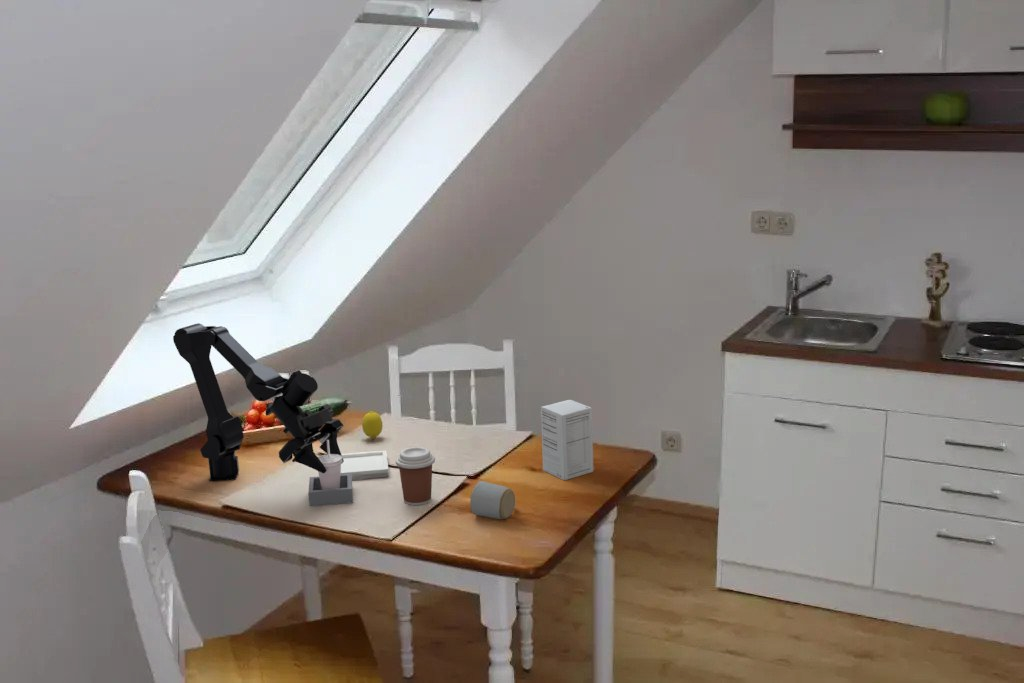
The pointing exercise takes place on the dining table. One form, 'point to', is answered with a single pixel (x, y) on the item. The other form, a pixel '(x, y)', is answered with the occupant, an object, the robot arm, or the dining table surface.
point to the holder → (330, 492)
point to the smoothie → (330, 470)
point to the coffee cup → (416, 475)
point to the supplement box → (567, 439)
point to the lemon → (372, 424)
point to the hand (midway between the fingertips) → (333, 467)
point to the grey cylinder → (492, 500)
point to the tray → (365, 464)
